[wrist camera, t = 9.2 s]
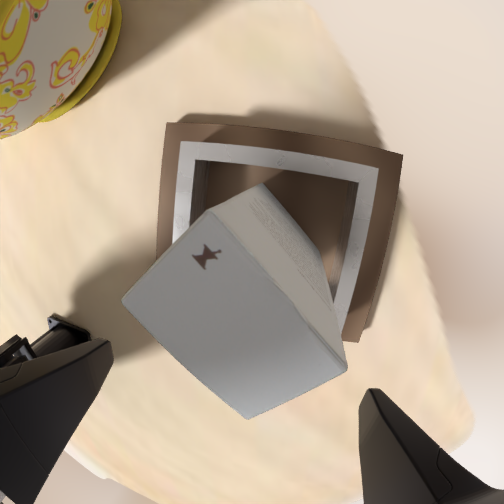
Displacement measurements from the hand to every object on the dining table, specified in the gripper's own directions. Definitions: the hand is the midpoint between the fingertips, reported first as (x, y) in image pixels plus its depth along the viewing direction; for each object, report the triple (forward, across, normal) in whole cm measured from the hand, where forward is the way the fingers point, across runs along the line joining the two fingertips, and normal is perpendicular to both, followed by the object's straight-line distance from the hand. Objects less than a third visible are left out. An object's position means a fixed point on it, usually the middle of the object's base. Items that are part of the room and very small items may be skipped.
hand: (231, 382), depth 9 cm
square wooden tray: (+13, 0, -2) cm, 13 cm away
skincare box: (+12, 0, -2) cm, 12 cm away
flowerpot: (+13, +21, -17) cm, 30 cm away
